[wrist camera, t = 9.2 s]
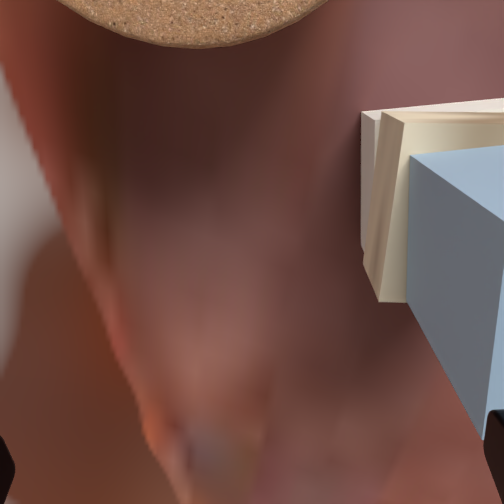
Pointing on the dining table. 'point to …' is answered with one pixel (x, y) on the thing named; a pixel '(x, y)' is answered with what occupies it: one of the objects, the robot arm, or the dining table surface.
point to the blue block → (460, 269)
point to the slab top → (397, 183)
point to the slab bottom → (370, 141)
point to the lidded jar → (194, 19)
